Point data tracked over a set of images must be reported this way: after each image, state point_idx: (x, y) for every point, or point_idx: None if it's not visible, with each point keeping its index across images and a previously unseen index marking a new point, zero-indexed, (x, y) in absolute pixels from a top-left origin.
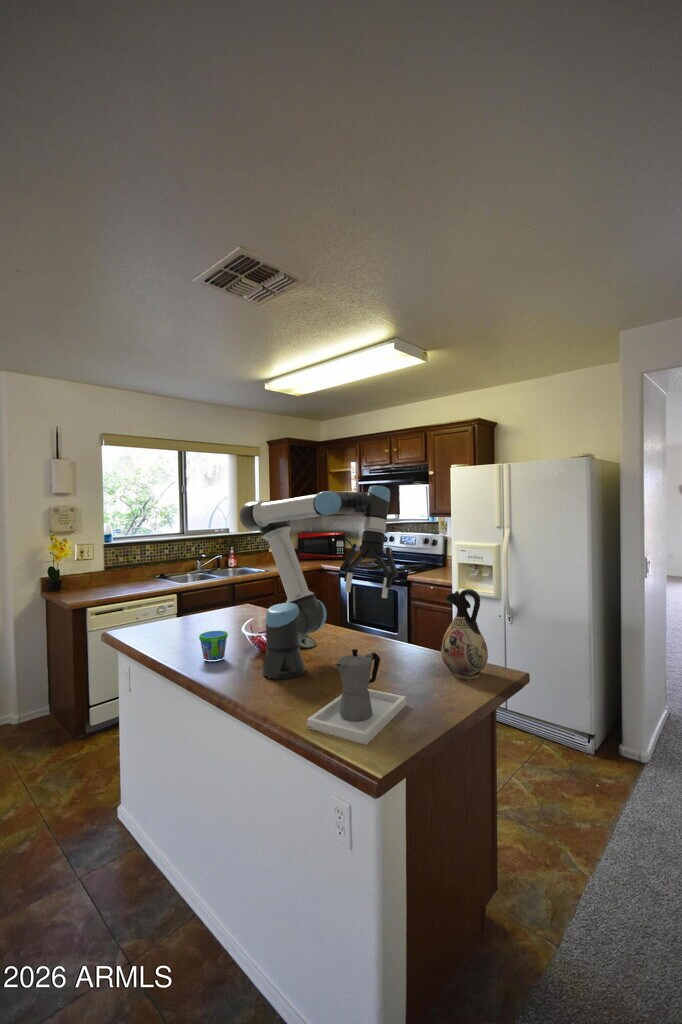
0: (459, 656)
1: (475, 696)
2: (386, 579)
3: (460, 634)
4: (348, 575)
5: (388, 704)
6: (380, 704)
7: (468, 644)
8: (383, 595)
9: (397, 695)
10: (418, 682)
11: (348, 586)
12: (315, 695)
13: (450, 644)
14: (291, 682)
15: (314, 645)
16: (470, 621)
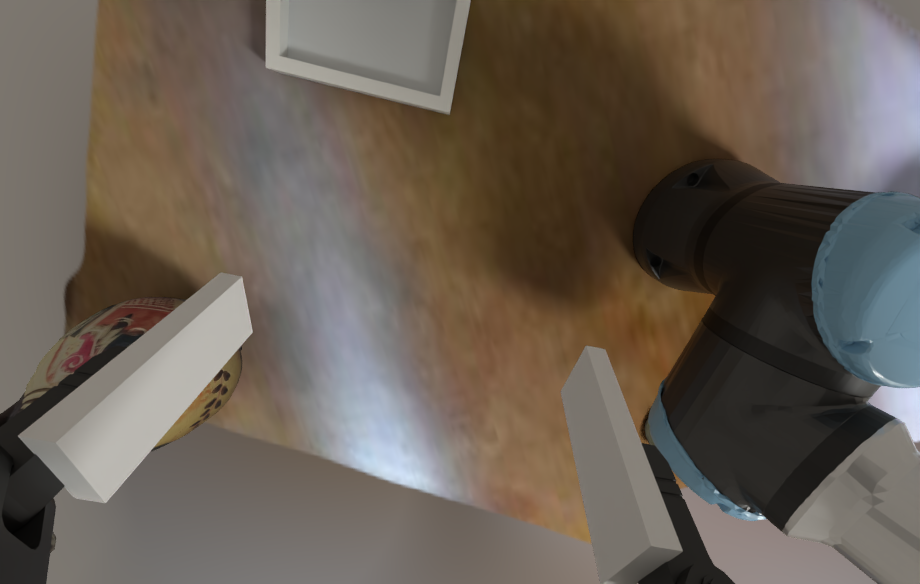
0: (136, 306)
1: (123, 195)
2: (54, 422)
3: (75, 362)
4: (642, 500)
5: (317, 37)
6: (340, 29)
7: (71, 334)
8: (211, 285)
9: (293, 69)
10: (300, 251)
11: (588, 400)
12: (558, 69)
13: None
14: (654, 152)
15: (646, 426)
16: (1, 425)
